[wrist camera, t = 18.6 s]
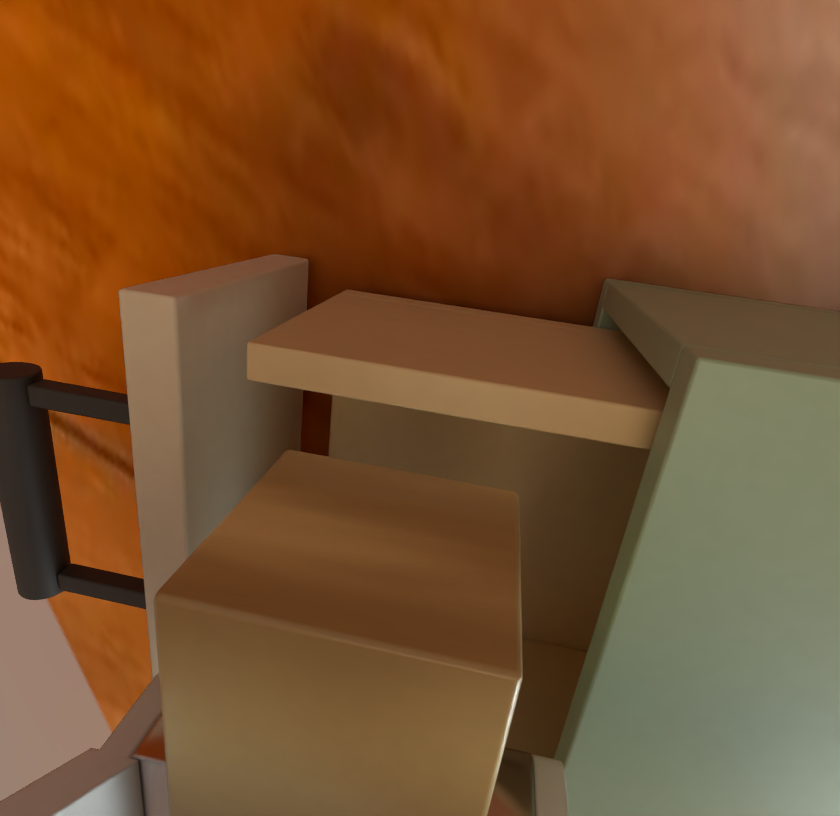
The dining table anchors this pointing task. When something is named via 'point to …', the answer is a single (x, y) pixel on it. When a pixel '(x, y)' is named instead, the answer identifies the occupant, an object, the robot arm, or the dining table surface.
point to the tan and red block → (343, 647)
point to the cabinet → (720, 573)
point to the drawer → (352, 437)
